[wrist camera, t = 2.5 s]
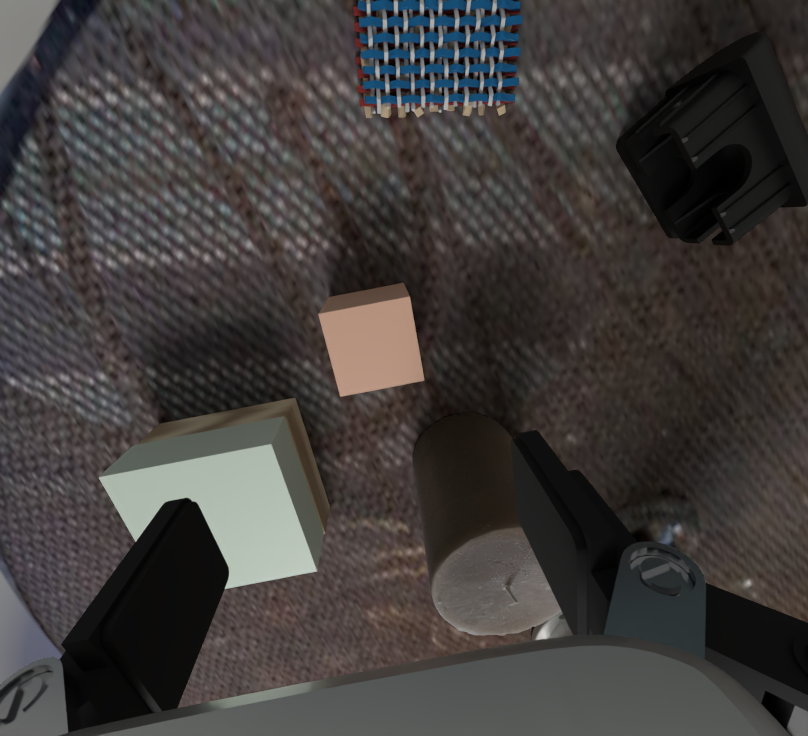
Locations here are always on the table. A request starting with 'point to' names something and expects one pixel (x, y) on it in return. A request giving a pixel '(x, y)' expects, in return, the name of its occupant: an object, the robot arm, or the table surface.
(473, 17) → the woven mat
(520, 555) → the pillar candle
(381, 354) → the terracotta cube
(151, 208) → the table surface
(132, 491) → the sage slab
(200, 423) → the birch slab
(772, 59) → the end cap
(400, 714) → the robot arm
